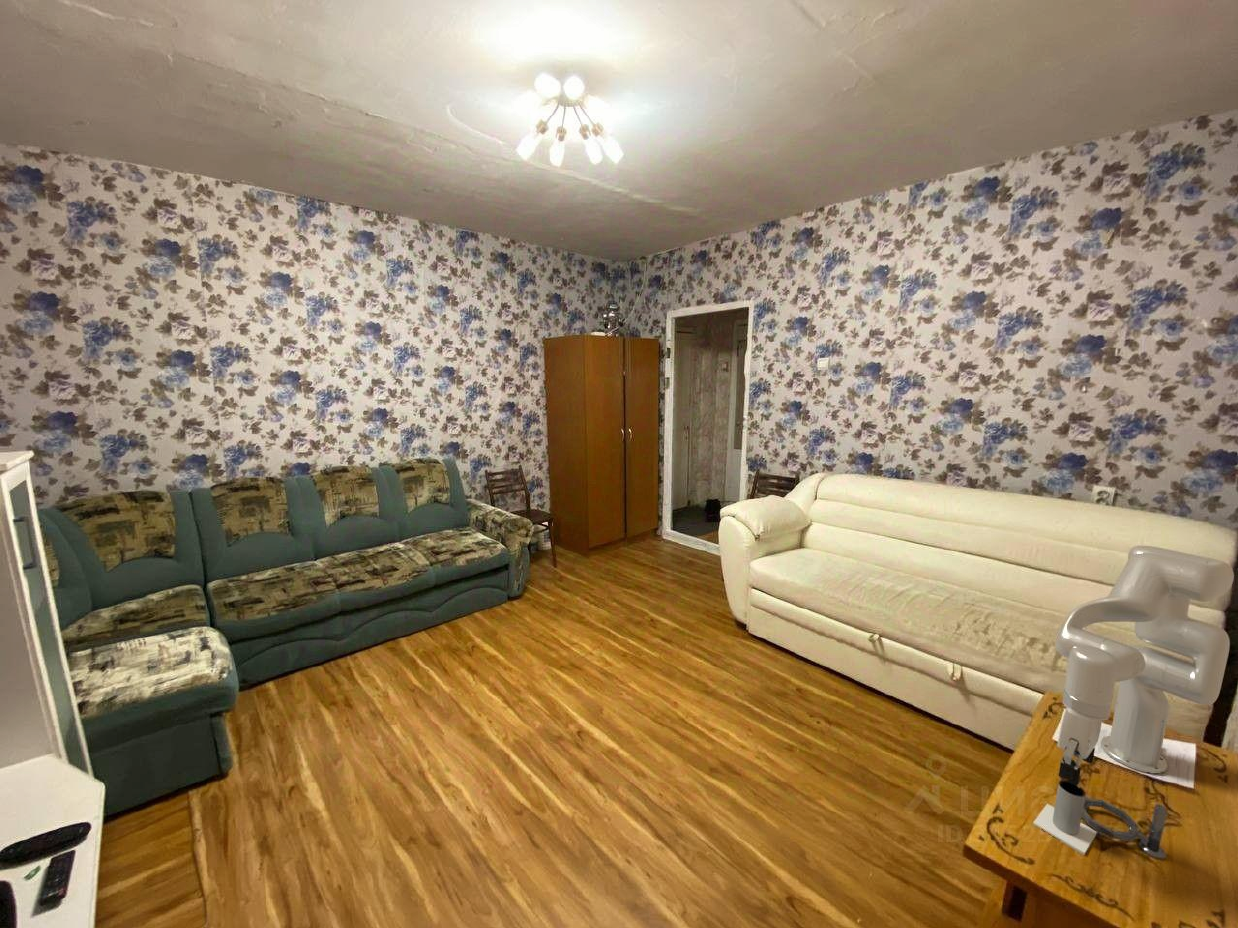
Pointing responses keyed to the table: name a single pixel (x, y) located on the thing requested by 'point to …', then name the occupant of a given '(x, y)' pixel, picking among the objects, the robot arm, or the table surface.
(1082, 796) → the gray hollow cylinder
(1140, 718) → the robot arm
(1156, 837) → the ring stand
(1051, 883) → the table surface
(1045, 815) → the coaster
